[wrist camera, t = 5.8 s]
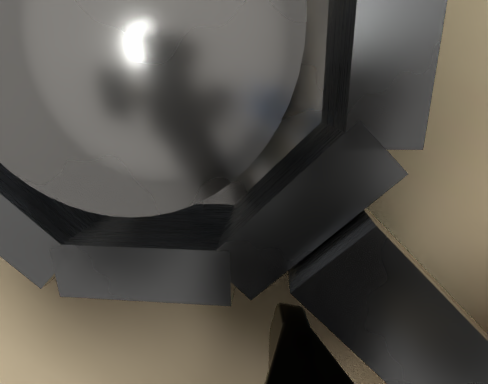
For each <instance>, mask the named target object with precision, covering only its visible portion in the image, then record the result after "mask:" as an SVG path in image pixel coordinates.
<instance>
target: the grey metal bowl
mask: <svg viewBox="0 0 488 384" xmlns="http://www.w3.org/2000/svg"><path fill="white" fill-rule="evenodd" d="M328 8H329V0H0V163H1V164H2V165H3V166H4V167H6V168H7V169H8V170H9V171H10V172H11V173H13V174H14V175H15V176H17V177H18V178H20V179H21V180H22V181H24V182H25V183H26V184H28V185H29V186H31V187H33V188H34V189H36V190H38V191H40V192H41V193H43V194H45V195H46V196H48V197H50V198H53V199H55V200H57V201H59V202H61V203H64V204H66V205H68V206H71V207H74V208H78V209H81V210H84V211H87V212H91V213H96V214H102V215H107V216H116V217H131V218H132V217H147V216H156V215H161V214H166V213H171V212H175V211H178V210H181V209H184V208H187V207H189V206H192V205H195V204H227V205H234V204H235V203H236V202H237V201H238V200H239V199H240V198H241V197H242V196H243V195H245V194H246V193H247V192H248V191H249V190H250V189H251V188H252V187H253V186H254V185H255V184H256V183H257V182H258V181H259V180H260V179H261V178H262V177H264V176H265V175H266V174H267V173H268V172H269V171H270V170H271V169H272V168H273V167H274V166H275V165H276V164H277V163H278V162H279V161H280V160H281V159H283V158H284V157H285V156H286V155H287V154H288V153H289V152H290V151H291V150H292V149H293V148H294V147H295V146H296V145H297V144H298V143H299V142H300V141H301V140H303V139H304V138H305V137H306V136H307V135H308V134H309V133H310V132H311V131H312V130H313V129H314V128H315V127H316V126H317V125H318V124H319V123H320V122H321V119H322V103H323V87H324V71H325V56H326V40H327V24H328Z"/></svg>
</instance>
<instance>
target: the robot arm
mask: <svg viewBox="0 0 488 384" xmlns="http://www.w3.org/2000/svg"><path fill="white" fill-rule="evenodd" d="M265 384H354V383H353V382H352V380H351V379H350V378H349V377H348V375H347V374H346V373H345V371H344V370H343V369H342V368H341V366H340V365H339V364H338V362H337V361H336V360H335V358H334V357H333V356H332V355H331V353H330V352H329V351H328V349H327V348H326V347H325V346H324V344H323V343H322V342H321V340H320V339H319V338H318V336H317V335H316V334H315V333H314V331H313V330H312V329H311V327H310V325H309V322H308V319H307V317H306V314H305V311H304V309H303V308H302V307H300V306H295V305H289V304H283V303H279V304H278V305H277V306H276V310H275V313H274V317H273V320H272V324H271V328H270V336H269V370H268V374H267V377H266V381H265Z"/></svg>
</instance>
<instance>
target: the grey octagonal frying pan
mask: <svg viewBox="0 0 488 384" xmlns="http://www.w3.org/2000/svg"><path fill="white" fill-rule="evenodd" d="M446 6H447V0H329V8H328V24H327V40H326V56H325V71H324V87H323V103H322V119H321V122H320V123H319V124H318V125H317V126H316V127H315V128H314V129H313V130H312V131H311V132H310V133H309V134H308V135H307V136H306V137H305V138H304V139H303V140H301V141H300V142H299V143H298V144H297V145H296V146H295V147H294V148H293V149H292V150H291V151H290V152H289V153H288V154H287V155H286V156H285V157H284V158H283V159H281V160H280V161H279V162H278V163H277V164H276V165H275V166H274V167H273V168H272V169H271V170H270V171H269V172H268V173H267V174H266V175H265V176H264V177H262V178H261V179H260V180H259V181H258V182H257V183H256V184H255V185H254V186H253V187H252V188H251V189H250V190H249V191H248V192H247V193H246V194H245V195H243V196H242V197H241V198H240V199H239V200H238V201H237V202H236V203H235V204H234V205H227V204H195V205H192V206H189V207H187V208H184V209H181V210H178V211H175V212H171V213H166V214H161V215H156V216H147V217H132V218H131V217H116V216H107V215H102V214H96V213H91V212H87V211H84V210H81V209H78V208H74V207H71V206H68V205H66V204H64V203H61V202H59V201H57V200H55V199H53V198H50V197H48V196H46V195H45V194H43V193H41V192H40V191H38V190H36V189H34V188H33V187H31V186H29V185H28V184H26V183H25V182H24V181H22V180H21V179H20V178H18V177H17V176H15V175H14V174H13V173H11V172H10V171H9V170H8V169H7V168H6V167H4V166H3V165H2V164H1V163H0V256H1V257H2V258H3V259H4V260H6V261H7V262H8V263H9V264H11V265H12V266H13V267H14V268H16V269H17V270H18V271H19V272H21V273H22V274H23V275H24V276H25V277H27V278H28V279H29V280H30V281H32V282H33V283H34V284H35V285H37V286H38V287H39V288H40V289H41V288H43V287H44V286H45V285H46V284H48V283H49V282H50V281H51V280H53V279H54V278H55V277H56V281H57V285H58V290H59V294H60V297H77V298H95V299H112V300H130V301H148V302H165V303H183V304H200V305H218V306H231V305H232V300H233V295H234V291H235V286H236V287H237V288H238V289H239V290H240V291H241V292H242V293H243V294H245V295H246V296H247V297H248V298H249V299H250V300H252V299H253V298H255V297H256V296H257V295H258V294H260V293H261V292H262V291H263V290H264V289H266V288H267V287H268V286H269V285H271V284H272V283H273V282H274V281H276V280H277V279H278V278H279V277H281V276H282V275H283V274H284V273H286V272H287V271H288V272H289V285H290V293H291V294H292V295H293V296H294V297H295V298H296V299H297V300H298V301H299V302H300V303H301V304H303V305H304V306H305V307H306V308H307V309H308V310H309V311H310V312H311V313H312V314H313V315H314V316H315V317H316V318H318V319H319V320H320V321H321V322H322V323H323V324H324V325H325V326H326V327H327V328H328V329H329V330H330V331H331V332H333V333H334V334H335V335H336V336H337V337H338V338H339V339H340V340H341V341H342V342H343V343H344V344H345V345H346V346H348V347H349V348H350V349H351V350H352V351H353V352H354V353H355V354H356V355H357V356H358V357H359V358H360V359H361V360H362V361H364V362H365V363H366V364H367V365H368V366H369V367H370V368H371V369H372V370H373V371H374V372H375V373H376V374H377V375H379V376H380V377H381V378H382V379H383V380H384V381H385V382H386V383H387V384H488V334H487V333H486V332H485V331H484V330H483V329H482V328H481V327H480V326H479V325H478V324H477V323H476V322H475V321H474V320H473V319H472V318H471V317H470V315H469V314H468V313H467V312H466V311H465V310H464V309H463V308H462V307H461V306H460V305H459V304H458V303H457V302H456V301H455V300H454V299H453V298H452V297H451V296H450V295H449V294H448V293H447V291H446V290H445V289H444V288H443V287H442V286H441V285H440V284H439V283H438V282H437V281H436V280H435V279H434V278H433V277H432V276H431V275H430V274H429V273H428V272H427V271H426V270H425V269H424V268H423V266H422V265H421V264H420V263H419V262H418V261H417V260H416V259H415V258H414V257H413V256H412V255H411V254H410V253H409V252H408V251H407V250H406V249H405V248H404V247H403V246H402V245H401V244H400V243H399V241H398V240H397V239H396V238H395V237H394V236H393V235H392V234H391V233H390V232H389V231H388V230H387V229H386V228H385V227H384V226H383V225H382V224H381V223H380V222H379V221H378V220H377V219H376V217H375V216H374V215H373V214H372V213H371V212H370V211H369V210H368V209H367V207H368V206H369V205H370V204H372V203H373V202H374V201H375V200H377V199H378V198H379V197H380V196H382V195H383V194H384V193H385V192H387V191H388V190H389V189H390V188H392V187H393V186H394V185H395V184H397V183H398V182H399V181H400V180H402V179H403V178H404V177H405V176H407V175H408V173H407V172H406V171H405V170H404V169H403V168H402V166H401V165H400V164H399V163H398V162H397V161H396V160H395V159H394V158H393V157H392V156H391V154H390V153H389V152H388V151H387V150H423V146H424V140H425V134H426V128H427V122H428V116H429V110H430V104H431V97H432V91H433V85H434V79H435V73H436V67H437V61H438V55H439V49H440V42H441V36H442V30H443V24H444V18H445V12H446Z"/></svg>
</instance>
